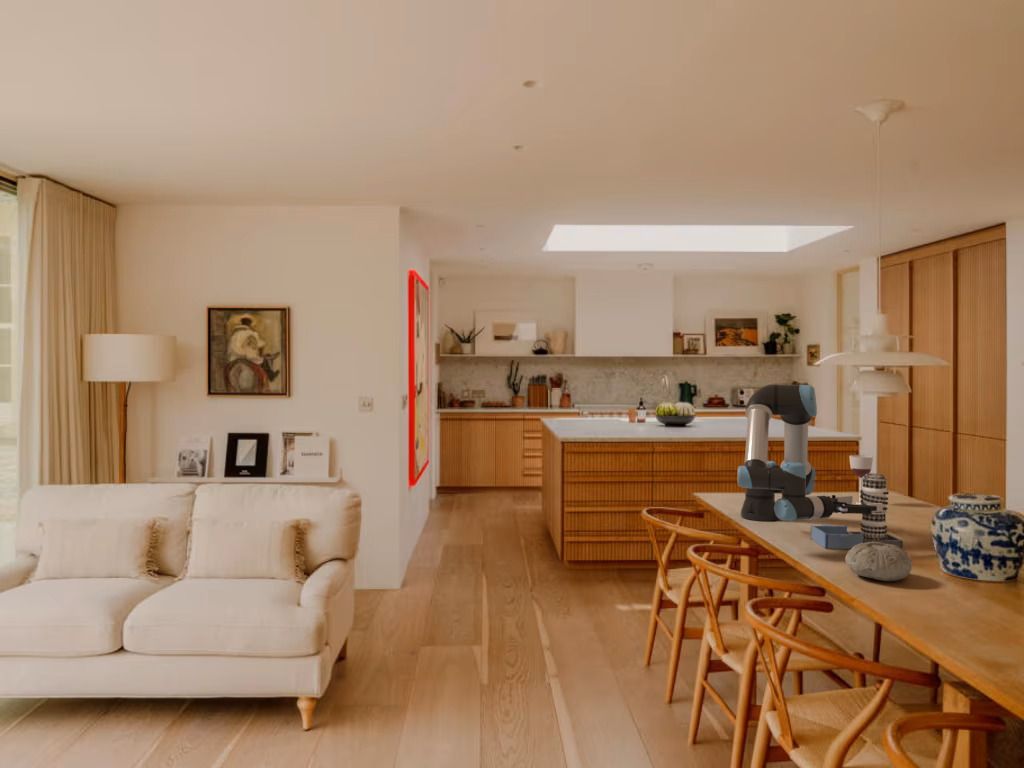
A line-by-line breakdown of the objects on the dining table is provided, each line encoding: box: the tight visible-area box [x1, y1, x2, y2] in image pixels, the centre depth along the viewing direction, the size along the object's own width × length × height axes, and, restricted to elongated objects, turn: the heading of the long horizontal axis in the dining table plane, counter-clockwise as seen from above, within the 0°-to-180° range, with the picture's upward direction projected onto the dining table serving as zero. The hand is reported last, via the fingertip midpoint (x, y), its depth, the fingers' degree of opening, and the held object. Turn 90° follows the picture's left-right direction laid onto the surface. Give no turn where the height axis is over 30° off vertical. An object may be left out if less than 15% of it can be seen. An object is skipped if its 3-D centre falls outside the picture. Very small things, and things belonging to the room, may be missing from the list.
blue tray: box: [809, 524, 863, 550], centre depth 257 cm, size 13×18×5 cm
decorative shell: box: [844, 541, 913, 582], centre depth 218 cm, size 18×18×10 cm
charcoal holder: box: [847, 530, 904, 550], centre depth 257 cm, size 14×14×3 cm
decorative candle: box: [859, 472, 890, 540], centre depth 257 cm, size 9×9×25 cm
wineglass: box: [849, 454, 874, 504], centre depth 330 cm, size 9×10×22 cm
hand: (866, 503), depth 255 cm, fingers open, 13 cm apart
